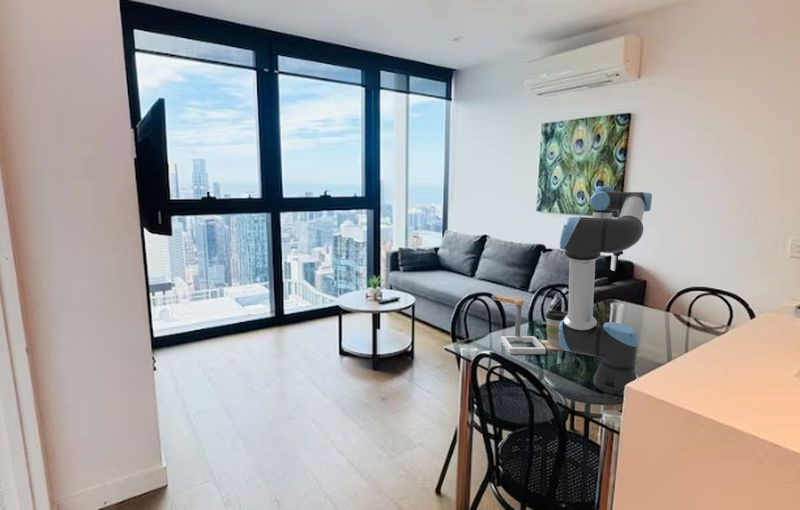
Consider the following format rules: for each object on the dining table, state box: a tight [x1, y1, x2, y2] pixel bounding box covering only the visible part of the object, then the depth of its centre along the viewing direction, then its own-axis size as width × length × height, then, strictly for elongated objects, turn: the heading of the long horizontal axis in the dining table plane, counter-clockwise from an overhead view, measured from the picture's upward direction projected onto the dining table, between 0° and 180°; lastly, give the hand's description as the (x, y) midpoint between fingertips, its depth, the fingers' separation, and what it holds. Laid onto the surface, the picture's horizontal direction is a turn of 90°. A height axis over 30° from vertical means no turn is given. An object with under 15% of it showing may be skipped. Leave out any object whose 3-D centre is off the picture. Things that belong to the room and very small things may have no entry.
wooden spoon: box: [490, 294, 525, 306], centre depth 215 cm, size 16×4×2 cm, turn 51°
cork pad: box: [539, 339, 565, 352], centre depth 209 cm, size 12×12×1 cm
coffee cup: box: [545, 310, 568, 347], centre depth 207 cm, size 10×10×15 cm
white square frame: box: [500, 305, 547, 355], centre depth 206 cm, size 18×16×18 cm
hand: (597, 270), depth 199 cm, fingers open, 13 cm apart
